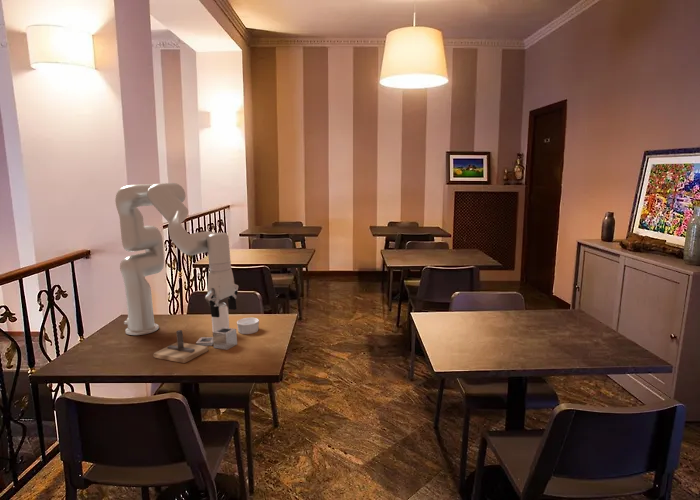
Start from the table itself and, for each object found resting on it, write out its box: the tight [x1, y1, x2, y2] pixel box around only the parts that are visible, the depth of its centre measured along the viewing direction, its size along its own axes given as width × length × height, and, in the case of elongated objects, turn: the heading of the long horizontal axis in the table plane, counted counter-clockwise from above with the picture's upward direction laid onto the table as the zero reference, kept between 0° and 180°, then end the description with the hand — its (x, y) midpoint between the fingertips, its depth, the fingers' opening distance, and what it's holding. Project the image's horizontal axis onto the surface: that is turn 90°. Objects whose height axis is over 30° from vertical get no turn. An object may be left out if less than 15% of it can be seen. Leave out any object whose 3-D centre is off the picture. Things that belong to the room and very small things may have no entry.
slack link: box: [195, 336, 214, 347], centre depth 180 cm, size 6×6×1 cm
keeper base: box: [152, 329, 209, 364], centre depth 169 cm, size 14×12×8 cm
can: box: [211, 302, 230, 333], centre depth 189 cm, size 6×6×12 cm
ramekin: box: [236, 317, 260, 335], centre depth 192 cm, size 9×9×4 cm
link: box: [212, 327, 238, 351], centre depth 176 cm, size 6×6×6 cm
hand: (224, 312), depth 174 cm, fingers open, 9 cm apart
